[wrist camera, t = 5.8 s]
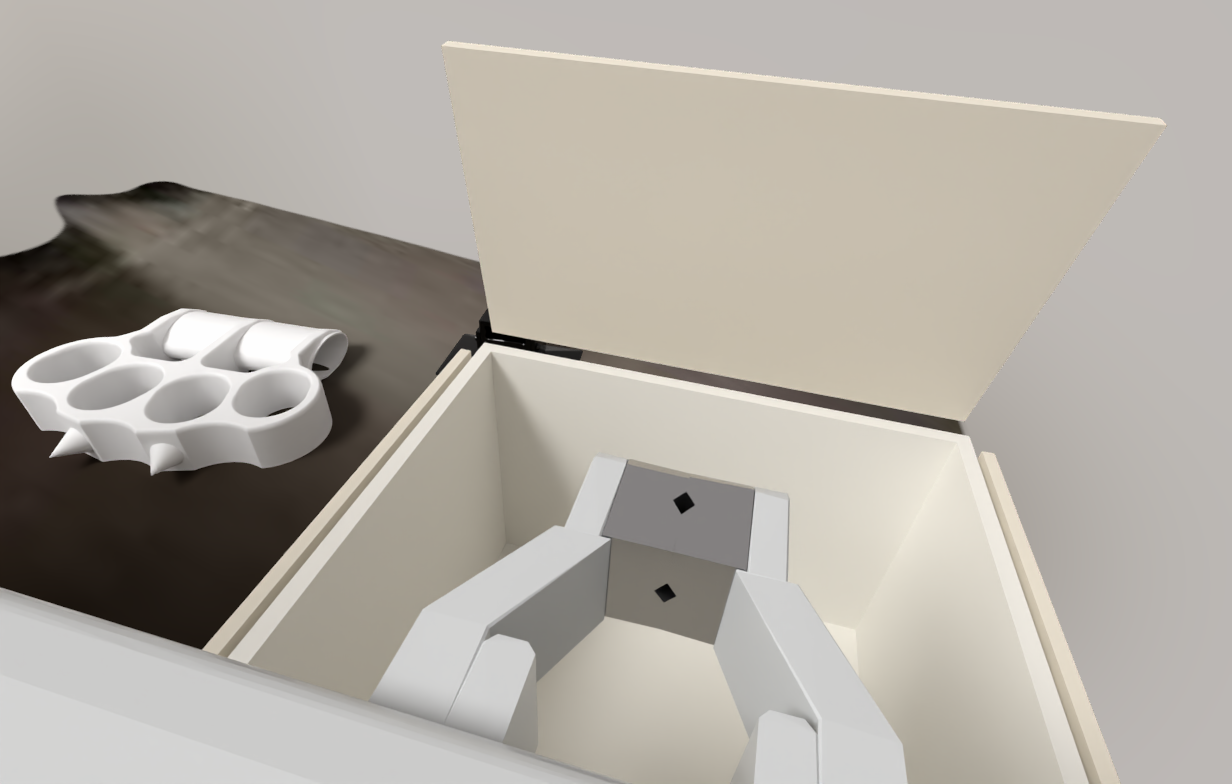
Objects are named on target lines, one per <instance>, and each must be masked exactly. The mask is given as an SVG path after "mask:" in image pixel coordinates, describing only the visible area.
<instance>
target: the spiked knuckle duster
mask: <svg viewBox="0 0 1232 784" xmlns="http://www.w3.org/2000/svg"><path fill="white" fill-rule="evenodd" d="M347 348H348V338H347V336H346V334H345V333H342V332H341V330H335V329H317V328H310V327H303V326H297V325H290V324H283V323H277V322H273V321H272V320H266V319H250V318H243V317H236V316H230V315H223V314H216V313H209V312H207V311H205V310H196V309H179V310H177V311H174V312H172V313H169V314H167V315H164V316H162V317H160V318H159V319H157V320H156V321H154V322H153V323H151V324H149V325H148V326H146V327H145V328H143V329H142V330H139V331H136V332H132V333H129V334H125V335H122V336H118V337H101V338H91V339H85V340H80V341H76V342H72V343H68V344H65V345H61V346H58V347H56V348H53V349H50V350H48V351H46V352H44V353H42V354H40V355H38V356H36V357H34V358H32V359H31V360H29V361H28V362H26V363H25V364H24V365H23V366H21V367H20V368H19V369H18V370H17V372H16V373H15V375H14V376H13V379H12V388H13V390H14V392H15V393H16V395H17V396H18V398H19V399H20V401H21V402H22V404H23V405H24V407H25V408H26V409H27V411H28V412H29V414H30V415H31V417H32V418H33V420H34V421H35V422H36V424H37V425H38V427H39V428H40V429H41V430H42V431H45V430H55V431H63V432H67V433H66V434H65V436H64V437H63V439H62V440H61V441H60V443H59V444H58V446H57V447H56V448H55V450H54V451H53V453H52V454H51V456H50V457H49V458H51V457H57V456H64V455H71V454H78V453H86V454H88V455H90V456H92V457H94V458H96V459H98V460H100V461H102V462H106V461H112V460H136V461H140V462H144V463H146V464H148V465H150V466H151V476H152V475H154V474H156V473H159V472H161V471H184V470H197V469H199V468H202V467H206V466H209V465H213V464H218V463H225V462H244V463H250V464H253V465H256V466H258V467H260V468H269V467H274V466H278V465H282V464H285V463H288V462H291V461H294V460H296V459H298V458H300V457H302V456H304V455H306V454H308V453H309V452H311V451H312V450H314V449H315V448H316V447H318V446H319V445H320V444H321V443H322V442H323V441H324V440H325V439H326V437H327V436H328V434H329V432H330V430H331V427H332V417H331V413H330V410H329V406H328V403H327V400H326V396H325V393H324V389H323V386H322V383H321V380H322V379H325V378H327V377H328V376H329V375H330V374H331V373H332V372H333V371H334V370H335V369H336V368H337V367H338V366H339V365H340V364H341V362H342V360H343V358H344V356H345V354H346V351H347ZM179 360H182V361H179ZM313 363H316V364H320V365H323V366H326V367H328V368H329V369H330V370H327V371H312V364H313ZM249 370H252V371H254V372H249V373H247V372H248V371H249ZM289 407H294V408H293V409H291V410H289V411H286V412H284V413H281V414H278V415H274V416H269V417H266V416H268V415H269V414H271V413H273V412H276V411H278V410H281V409H285V408H289ZM205 414H206V415H205ZM202 415H203V416H202ZM199 416H201V417H199ZM196 417H199V418H196ZM194 418H196V419H194ZM192 419H193V420H192Z"/></svg>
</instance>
